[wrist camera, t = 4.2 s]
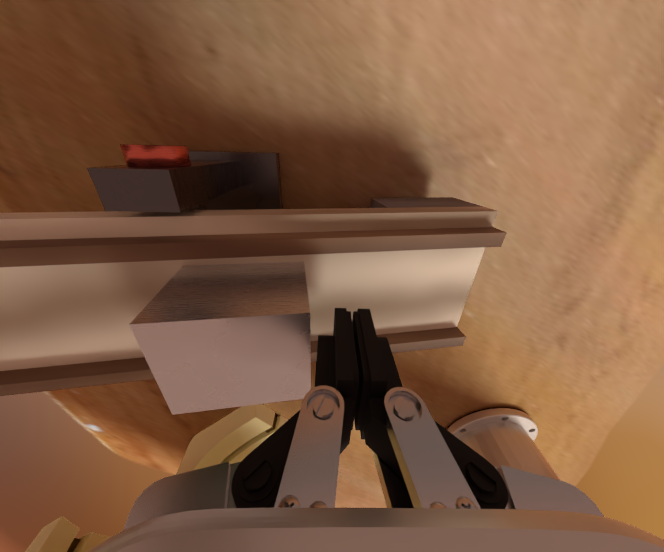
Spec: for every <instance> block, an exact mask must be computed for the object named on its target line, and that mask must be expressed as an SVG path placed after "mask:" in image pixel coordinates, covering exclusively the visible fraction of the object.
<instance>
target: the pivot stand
mask: <svg viewBox="0 0 664 552" xmlns="http://www.w3.org/2000/svg"><path fill="white" fill-rule="evenodd" d="M120 146H121V149H122V152H123V155H124V157H125V160H126V163H127V165H119V166H105V167H92V168H87V169H88V171H89V173H90V176H91V178H92V180H93V183H94V185H95V187H96V190H97V192H98V194H99V196H100V199H101V201H102V203H103V206H104V208H105V210H106V211H127V212H183V211H185V210H252V209H283V206H282V193H281V180H280V167H279V154H278V153H252V152H211V151H188V148H187V146H164V145H123V144H120Z"/></svg>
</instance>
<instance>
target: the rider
mask: <svg viewBox="0 0 664 552" xmlns="http://www.w3.org/2000/svg"><path fill="white" fill-rule="evenodd" d="M129 326H130V328H131V330H132V332H133V334H134V336H135V338H136V340H137V342H138V344H139V347H140V349H141V351H142V353H143V355H144V357H145V359H146V361H147V363H148V365H149V367H150V369H151V372H152V374H153V376H154V378H155V380H156V382H157V384H158V386H159V388H160V390H161V392H162V394H163V397H164V399H165V401H166V403H167V405H168V407H169V409H170V411H171V413H172V415H175V414H183V413H191V412H200V411H208V410H216V409H224V408H232V407H241V406H249V405H257V404H265V403H273V402H282V401H290V400H298V399H304V397H305V395H306V394H307V393H308V391H309V390H311V342H310V307H309V299H308V290H307V282H306V274H305V266H304V262H280V263H248V264H217V265H186V266H182V267H181V268H180V269H179V270H178V272H177V273H176V274H175V275H174V276H173V277H172V278H171V279H170V280H169V281H168V283H167V284H166V285H165V286H164V287H163V288H162V289H161V290H160V291H159V292H158V293H157V295H156V296H155V297H154V298H153V299H152V300H151V301H150V302H149V303H148V304H147V305H146V307H145V308H144V309H143V310H142V311H141V312H140V313H139V314H138V315H137V316H136V317H135V319H134V320H133V321H132V322H131V323H130V324H129Z"/></svg>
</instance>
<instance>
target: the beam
mask: <svg viewBox="0 0 664 552" xmlns="http://www.w3.org/2000/svg"><path fill="white" fill-rule="evenodd" d="M497 213H498V211H496V210H492V209H489V208H486V207H482V206H479V205H476V204H472V203H469V202H466V201H462V200H459V199H456V198H371V206H370V208H331V209H252V210H185V211H183V212H127V211H94V212H15V213H0V396H5V395H14V394H23V393H32V392H42V391H51V390H60V389H69V388H78V387H87V386H96V385H106V384H115V383H124V382H133V381H142V380H151V379H155V378H154V376H153V374H152V372H151V369H150V367H149V365H148V363H147V361H146V359H145V357H144V355H143V353H142V351H141V349H140V347H139V344H138V342H137V340H136V338H135V336H134V334H133V332H132V330H131V328H130V326H129V324H130V323H131V322H132V321H133V320H134V319H135V317H136V316H137V315H138V314H139V313H140V312H141V311H142V310H143V309H144V308H145V307H146V305H147V304H148V303H149V302H150V301H151V300H152V299H153V298H154V297H155V296H156V295H157V293H158V292H159V291H160V290H161V289H162V288H163V287H164V286H165V285H166V284H167V283H168V281H169V280H170V279H171V278H172V277H173V276H174V275H175V274H176V273H177V272H178V270H179V269H180V268H181V267H182V266H186V265H217V264H248V263H280V262H304V266H305V274H306V282H307V290H308V299H309V307H310V342H311V362H315V361H317V345H318V335H330V336H333V329H334V312H335V308H346V310H347V311H351V318H352V319H353V312H354V311H357V310H358V308H360V309H370V312H371V316H372V320H373V323H374V327H375V331H376V335H377V337H386V338H387V339H388V342H389V345H390V348H391V352H392V353H397V352H406V351H415V350H424V349H434V348H443V347H452V346H461V345H463V343H464V340H465V338H466V336H465V335H464V334H463V333H462V332H461V331H460V330H459V329H458V328H457V325H458V322H459V320H460V317H461V314H462V311H463V308H464V306H465V303H466V300H467V297H468V294H469V292H470V289H471V286H472V283H473V280H474V278H475V275H476V272H477V269H478V266H479V264H480V261H481V258H482V255H483V252H484V250H485V247H501V245H502V243H503V240H504V238H505V235H506V232H504V231H501V230H499V229H496V228H494V227H493V224H494V222H495V219H496V216H497Z"/></svg>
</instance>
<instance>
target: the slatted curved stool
mask: <svg viewBox="0 0 664 552" xmlns="http://www.w3.org/2000/svg"><path fill="white" fill-rule="evenodd" d="M287 421H288V420H287V419H286V418H284V417H282V416H281V415H280V416H278V417H275V412H274V411H273V410H271V409H269V408H268V407H266V406H265V405H263V404H257V405H249V406H241V407H240V408H238V409H236V410H235V411H233V412H232V413H230V414H228V415H227V416H225V417H223V418H222V419H220V420H219V421H217V422H215V423H214V424H212V425H211V426H209V427H207V428H206V429H204V430H202V431H201V432H199V433H198V434H196V435H195V436H194V437H193V438H192V440H191V441H190V443H189V445H188V447H187V450H186V452H185V455H184V457H183V460H182V462H181V464H180V467H179V469H178V471H177V473H176V475H177V474H181V473H185V472H189V471H193V470H197V469H201V468H205V467H209V466H213V465H217V464H221V463H225V462H229V463H230V464H233V463H237V462H241V461H242V460H243V459H244V458H245V457H246V456H247V455H248V454H249V453H251V452H252V451H253V450H254V449H255V448H256V447H258V446H259V445H260V444H261V443H262V442H263V441H265V440H266V439H267V438H268V437H269V436H270V435H272V434H273V433H274V432H275V431H276V430H277V429H279V428H280V427H281V426H282V425H283V424H284V423H286V422H287ZM79 529H80V528H79V527H77V526H75V525H74V524H72V523H71V522H69V521H68V520H67V519H66V518H64V517H63V516H61V517H60V518H58V519H56V520H55V521H53V522H52V523H50V524H49V525H47V526H45V527H44V528H43V529H42V530H41V531H40V533H39V534H38V535H37V537H36V538H35V539H34V540H33V542H32V543H31V544H30V546H29V547H28V549H27V550H26V551H25V552H88V551H89V550H91V549H92V548H94V547H95V546H97V545H99V544H100V543H102V542H103V541H105V540H107V539H108V538H110V537H109V536H103V535H99V534H96V533H92V532H91V533H89V534H87V535H85V536H83V537H81V538H79V539H76V538H75V536H76V534H77V533H78V531H79Z"/></svg>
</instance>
